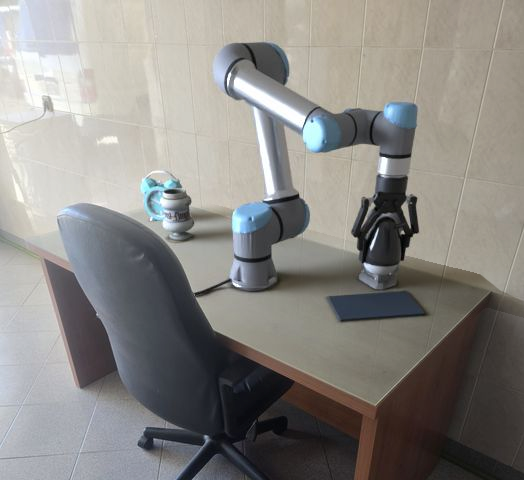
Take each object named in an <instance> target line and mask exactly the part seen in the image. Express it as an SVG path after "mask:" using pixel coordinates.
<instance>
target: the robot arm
mask: <svg viewBox="0 0 524 480" xmlns="http://www.w3.org/2000/svg"><path fill="white" fill-rule="evenodd" d="M212 74H213V80H214V82H215V83H216V85H217V86H218V88H219V89H220V90H221V92H222V93H224V94H225V95H227V96H228V97H230V98H231V99H233V100H235V101H242V100H243V101H244V102H245V104H247V105H248V106H249V107H250V108H251V116H252V120H253V127H254V133H255V136H256V144H257V149H258V155H259V160H260V167H261V172H262V178H263V184H264V190H265V194H264V195H263V197H262V198H261V199H262V200H261V201H262V202H261V201H255V202H248V203H244V204H242V205H240V206H237V208H236V209H234V210H233V212H232V221H231V222H232V223H231V229H232V243H233V261H232V264H231V268H230V272H229V276H228V279H225V280H223V281H221V282H218V283H217V284H214V285H212V286H209V287H207V288H205V289H203V290H200V291H196V292H193V293H194V294H195V296H200V295H203V294H205V293H208V292H210V291H212V290H215V289H217V288H220V287H222V286H224V285H226V284H228V283H229V284H230V286H231V287H233V288H234V289H236V290H240V291H243V292H244V291H245V292H260V291H265V290H268V289H271V288H273V287H274V286H275V285H277V283H278V272H277V269H276V266H275V263H274V260H273V258H272V257H273V256H272V252H273V251H272V248H273V247H272V246H273V245H276V244H279V243H281V242H284V241H287V240H290V239H294V238H297V236H299V235H301V234H302V235H303V233H304V232H306V230H307V229H308V226H309V224H310V221H311V211H310V207H309V205H308V203H306V200H304V199H303V198H301V195H300V192H299V191H298V190H297V189H296V188H295V187H294V181H293V176H292V170H291V164H290V156H289V150H288V144H287V143H288V142H287V136H286V131H285V130H286V129H285V127H286V128H287V129H289V130H291V131H293V132H294V133H296V134H298V135H299V136H300V137H302V140H303V143H304V144H305V146H306V149H307V150H308V151H310V152H311V153H314V154H315V153H316V154H321V153H324V154H325V153H329V152H332V151H336V150H339V149H345V148H350V147H354V146H359V145H369V146H375V147H376V146H377V147H379V151H378V153H379V154H378V162H377V170H376V172H377V173H378V174H377V175H376V179H375V188H374V194H373V195H372V196H371V197H366V196H362V197H361V200H360V208H359V210H358V213H357V216H356V217H355V220H354V223H353V226H352V229H351V230H350V234H351V235H352V236H353V237H354V238H356V239H357V240H356V249H357V251H358V252H359V253H358V261H359V262H360V263H361V264H362V263H365V254H366V245H367V239H366V238H365V236H366V235H367V234H368V232H369V231H370V229H371V228H372V226H373V225H374V223H375V222H376V220H377V219H378V218H379V217H380V216H381V215H382V213H383V214H387V213H396V215H397V217H398V220H399V222H400V223H403V222H406V223H407V225H406V226H405V227H402V229H403V231H402V232H403V233H401V248H402V251H401V261H400V262H404V261H405V257H406V251H407V249H408V248H410V244H411V239H412V238H413V237H414V235H417V234H419V233H420V226H419V219H418V211H417V202H418V197H417V196H416V195H415V194H413V193H410V194H409V195H407V194H406V193H407V188H408V181H409V176H408V175H409V174H410V168H411V162H412V153H413V147H414V140H415V134H416V128H417V127H418V123H417V122H418V111H419V107H418V105H417V104H416V103H414V102H408V101H393V102H387V103H386V104H385V105H384V109H383V110H374V109H364V108H361V107H357V108H347V109H345V110H343V111H342V112H338V113H334V112H331V111H329V110H327V109H326V108H324V107H322V106H320V105H319V104H317V103H315V102H314V101H312V100H311V99H308V98H306V97H305V96H303V95H302V94H299V93H298V92H296V91H295V90H292V89H291V88H289V87H287V86H286V85H287V83H288V81H289V79H288V78H289V77H290V63H289V59H288V56H287V54H286V52H285V51H284V50H283V48H282V47H280V46H279V45H278V44H276V43H272V42H266V41H259V42H257V41H256V42H255V41H254V42H231V43H228V44H226V45H224V46H223V47H222V48H221V49H219V51H218V52H217V54H216V55H215V57H214V59H213V64H212ZM405 203H406V204H407V208H408V209H407V210H408V217H409V223H408V221H407V218H406V216H405V214H404V210H403V208H402V206H403V205H404V204H405ZM372 204H374V206H373V207H374V208H373V207H372V208H373V210H372V213H371V214H370V216H369V217H368V219H367V216H368V213H369V212H368V211H369V208H370V207H371V206H372ZM365 219H366V220H365ZM409 224H410V226H409ZM195 296H194V297H195Z"/></svg>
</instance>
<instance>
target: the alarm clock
mask: <svg viewBox="0 0 524 480" xmlns="http://www.w3.org/2000/svg"><path fill="white" fill-rule="evenodd" d="M154 173H155V174H156V173H157V174H159V173H161V174H165V175H168V176H170V177H171V178H170V179H168V180H167V181H165V183H163V182H162V180H156V179H154V178H151V177H150V176H151V175H153V174H154ZM141 182H142V183H141V184H140V192H141V194H142V195H144V196H143V206H144V209H145V211H146V212H147V214H148V216H150V219H149V221H150V222H153V221H155V220H158V221H164V219H165V213H164V208H163V207H162V206H161V205H160V199H161V198H162V197H163V191H165V190H167V189H172V188H182V189H183V185H182V184H181V180H180V178H176V177H175V176H174V175H173V174H172V173H170V172H169V171H167V170H161V169H160V170H153V171H151V172H149V173H148V175H146V176H145V177H142V180H141Z"/></svg>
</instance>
